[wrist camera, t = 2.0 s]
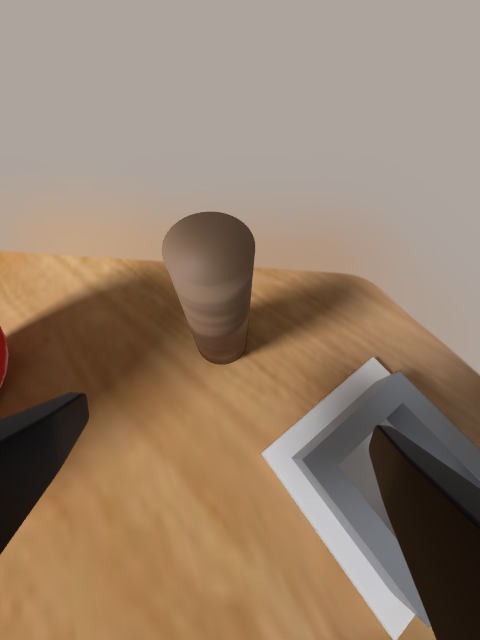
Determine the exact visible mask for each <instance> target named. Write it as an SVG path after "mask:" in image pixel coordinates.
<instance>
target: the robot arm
mask: <svg viewBox="0 0 480 640" xmlns="http://www.w3.org/2000/svg"><path fill="white" fill-rule="evenodd" d="M88 419H89V411H88V402H87V396H86V394H84V393H79V392H70V393H67V394H65V395H62V396H60V397H57V398H54V399H52V400H49V401H47V402H44V403H42V404H39V405H37V406H34V407H32V408H29V409H27V410H24V411H21V412H19V413H16V414H14V415H11V416H9V417H6V418H4V419H1V420H0V554H1V553H2V551H3V550H4V549H5V547H6V546H7V544H8V543H9V541H10V540H11V539H12V537H13V536H14V534H15V533H16V532H17V530H18V529H19V527H20V526H21V524H22V523H23V522H24V520H25V519H26V517H27V516H28V514H29V513H30V512H31V510H32V509H33V507H34V506H35V505H36V503H37V502H38V500H39V499H40V497H41V496H42V495H43V493H44V492H45V490H46V489H47V487H48V486H49V485H50V483H51V482H52V480H53V479H54V478H55V476H56V475H57V473H58V472H59V470H60V469H61V467H62V465H63V464H64V462H65V460H66V459H67V457H68V455H69V453H70V452H71V450H72V448H73V446H74V445H75V443H76V441H77V440H78V438H79V436H80V434H81V433H82V431H83V429H84V427H85V426H86V424H87V422H88ZM369 455H370V459H371V462H372V466H373V469H374V473H375V476H376V480H377V483H378V487H379V490H380V494H381V497H382V501H383V504H384V507H385V510H386V512H387V515H388V518H389V520H390V523H391V525H392V528H393V530H394V533H395V535H396V538H397V541H398V543H399V546H400V548H401V551H402V553H403V556H404V558H405V561H406V563H407V566H408V569H409V571H410V574H411V576H412V579H413V581H414V584H415V586H416V589H417V591H418V594H419V597H420V599H421V602H422V604H423V607H424V609H425V612H426V614H427V617H428V619H429V622H430V624H431V627H432V630H433V632H434V635H435V637H436V640H480V488H479V487H477V486H476V485H475V484H473V483H472V482H470V481H469V480H467V479H466V478H465V477H463V476H462V475H460V474H459V473H457V472H456V471H455V470H453V469H452V468H450V467H449V466H447V465H446V464H444V463H443V462H442V461H440V460H439V459H437V458H436V457H434V456H433V455H432V454H430V453H429V452H427V451H426V450H424V449H423V448H422V447H420V446H419V445H417V444H416V443H414V442H413V441H412V440H410V439H409V438H407V437H406V436H404V435H403V434H402V433H400V432H399V431H397V430H396V429H394V428H393V427H391V426H388V425H376V426H375V427H374V430H373V433H372V437H371V440H370V443H369Z"/></svg>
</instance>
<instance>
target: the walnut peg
mask: <svg viewBox="0 0 480 640" xmlns="http://www.w3.org/2000/svg"><path fill="white" fill-rule="evenodd" d="M162 255H163V259H164V262H165V264H166V267H167V269H168V272H169V275H170V277H171V280H172V282H173V285H174V287H175V290H176V293H177V295H178V298H179V300H180V303H181V305H182V308H183V311H184V313H185V316H186V318H187V321H188V324H189V326H190V329H191V331H192V334H193V336H194V339H195V342H196V344H197V347H198V349H199V352H200V353H201V355H202V356H203V357H204V358H205V359H206V360H208V361H209V362H211V363H214V364H228V363H231V362H234V361H235V360H237V359H238V358H239V357H240V356H241V355H242V354H243V352H244V350H245V347H246V342H247V331H248V321H249V310H250V299H251V288H252V277H253V265H254V255H255V241H254V238H253V235H252V233H251V231H250V230H249V228H248V227H247V226H246V225H245V224H244V223H243V222H242V221H240V220H238V219H237V218H235V217H233V216H231V215H228V214H224V213H220V212H201V213H197V214H193V215H190V216H187V217H185V218H183V219H182V220H180V221H178V222H177V223H176V224H175V225H174V226H173V227H171V229H170V230H169V231H168V232H167V234H166V236H165V238H164V240H163V244H162Z"/></svg>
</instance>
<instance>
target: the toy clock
mask: <svg viewBox="0 0 480 640" xmlns="http://www.w3.org/2000/svg"><path fill="white" fill-rule="evenodd" d="M8 357H9V354H8V348H7V341H6V337H5V335H4V333H3V331H2V329H1V327H0V388H1V385H2V383H3V380H4V378H5V375H6V372H7V364H8Z"/></svg>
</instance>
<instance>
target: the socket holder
mask: <svg viewBox="0 0 480 640" xmlns="http://www.w3.org/2000/svg"><path fill="white" fill-rule="evenodd" d="M376 425H388V426H391V427H393V428H394V429H396V430H397V431H399V432H400V433H402V434H403V435H404V436H406V437H407V438H409V439H410V440H412V441H413V442H414V443H416V444H417V445H419V446H420V447H422V448H423V449H424V450H426V451H427V452H429V453H430V454H432V455H433V456H434V457H436V458H437V459H439V460H440V461H442V462H443V463H444V464H446V465H447V466H449V467H450V468H452V469H453V470H455V471H456V472H457V473H459V474H460V475H462V476H463V477H465V478H466V479H467V480H469V481H470V482H472V483H473V484H475V485H476V486H477V487H479V488H480V450H479V449H478V448H477V447H476V446H475V445H474V444H473V443H472V442H471V441H470V440H469V439H468V438H467V437H466V436H465V435H464V434H463V433H462V432H461V431H460V430H459V429H458V428H457V427H456V426H455V425H454V424H453V423H452V422H451V421H450V420H449V419H448V418H447V417H446V416H445V415H444V414H443V413H442V412H441V411H440V410H438V409H437V408H436V407H435V406H434V405H433V404H432V403H431V402H430V401H429V400H428V399H427V398H426V397H425V396H424V395H423V394H422V393H421V392H420V391H419V390H418V389H417V388H416V387H415V386H414V385H413V384H412V383H411V382H410V381H409V380H408V379H407V378H406V377H405V376H404V375H403V374H402V373H401V372H400V371H397V372H395V373H393V374H390V373H389V372H388V371H387V370H386V369H385V368H384V367H383V366H382V365H381V364H380V363H379V362H378V361H377V360H376V359H375V358H374V357H372V358H371V359H369V360H368V361H367V362H366V363H364V364H363V365H362V366H361V367H360V368H359V369H357V370H356V371H355V372H354V373H353V374H352V375H350V376H349V377H348V378H347V379H346V380H345V381H344V382H342V383H341V384H340V385H339V386H338V387H337V388H335V389H334V390H333V391H332V392H331V393H330V394H328V395H327V396H326V397H325V398H324V399H323V400H321V401H320V402H319V403H318V404H317V405H316V406H315V407H313V408H312V409H311V410H310V411H309V412H308V413H306V414H305V415H304V416H303V417H302V418H301V419H299V420H298V421H297V422H296V423H295V424H294V425H293V426H291V427H290V428H289V429H288V430H287V431H286V432H284V433H283V434H282V435H281V436H280V437H279V438H277V439H276V440H275V441H274V442H273V443H272V444H270V445H269V446H268V447H267V448H266V449H265V450H264V451H262V452H261V454H262V456H263V457H264V459H265V460H266V461H267V463H268V464H269V466H270V467H271V468H272V470H273V471H274V473H275V474H276V476H277V477H278V478H279V480H280V481H281V483H282V484H283V485H284V487H285V488H286V490H287V491H288V493H289V494H290V495H291V497H292V498H293V500H294V501H295V502H296V504H297V505H298V507H299V508H300V510H301V511H302V512H303V514H304V515H305V517H306V518H307V520H308V521H309V522H310V524H311V525H312V527H313V528H314V529H315V531H316V532H317V534H318V535H319V537H320V538H321V539H322V541H323V542H324V544H325V545H326V546H327V548H328V549H329V551H330V552H331V554H332V555H333V556H334V558H335V559H336V561H337V562H338V564H339V565H340V566H341V568H342V569H343V571H344V572H345V573H346V575H347V576H348V578H349V579H350V581H351V582H352V583H353V585H354V586H355V588H356V589H357V590H358V592H359V593H360V595H361V596H362V598H363V599H364V600H365V602H366V603H367V605H368V606H369V608H370V609H371V610H372V612H373V613H374V615H375V616H376V617H377V619H378V620H379V622H380V623H381V625H382V626H383V627H384V629H385V630H386V632H387V633H388V634H389V635H390V636H391V638H392V639H393V640H397V638H398V637H399V636H400V634H401V633H402V632H403V630H404V629H405V628H406V626H407V625H408V624H409V623H410V621H411V620H412V619H413V617H414V616H415V615H416V616H417V617H418V618H419V619H420V620H421V621H422V622H423V623H425V624H426V625H427V626H428V627H429V626H430V625H431V624H430V622H429V619H428V617H427V614H426V612H425V609H424V607H423V604H422V602H421V599H420V597H419V594H418V591H417V589H416V586H415V584H414V581H413V579H412V576H411V574H410V571H409V569H408V566H407V563H406V561H405V558H404V556H403V553H402V551H401V548H400V546H399V543H398V541H397V538H396V535H395V533H394V530H393V528H392V525H391V523H390V520H389V518H388V515H387V512H386V510H385V507H384V504H383V501H382V497H381V494H380V490H379V487H378V483H377V480H376V476H375V473H374V469H373V466H372V462H371V459H370V455H369V443H370V440H371V437H372V433H373V430H374V427H375V426H376Z"/></svg>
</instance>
